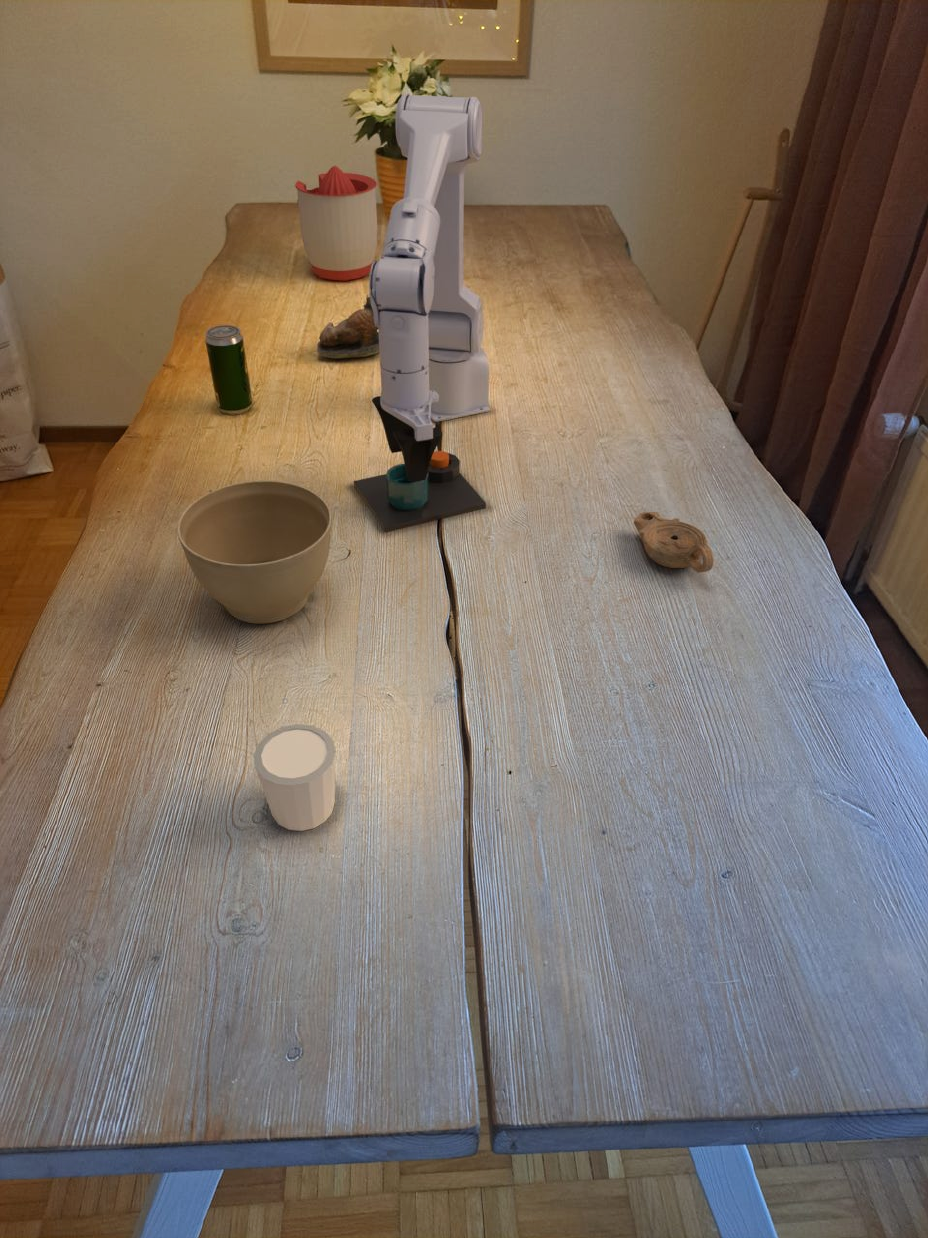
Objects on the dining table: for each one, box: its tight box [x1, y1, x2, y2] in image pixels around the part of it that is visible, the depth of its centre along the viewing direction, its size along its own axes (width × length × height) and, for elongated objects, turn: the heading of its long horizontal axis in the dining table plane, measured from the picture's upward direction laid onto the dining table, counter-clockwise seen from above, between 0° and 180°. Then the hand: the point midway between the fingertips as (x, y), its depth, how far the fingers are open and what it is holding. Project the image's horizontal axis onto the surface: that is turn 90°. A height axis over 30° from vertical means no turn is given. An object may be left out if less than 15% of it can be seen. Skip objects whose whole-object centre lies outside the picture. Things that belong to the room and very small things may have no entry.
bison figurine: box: [316, 294, 380, 359], centre depth 151 cm, size 12×7×10 cm, turn 98°
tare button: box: [430, 450, 449, 468], centre depth 122 cm, size 3×3×1 cm
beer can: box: [204, 324, 253, 416], centre depth 136 cm, size 5×5×12 cm
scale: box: [352, 451, 487, 533], centre depth 120 cm, size 14×12×2 cm
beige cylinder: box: [253, 723, 337, 832], centre depth 79 cm, size 7×7×7 cm
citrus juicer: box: [294, 165, 378, 282], centre depth 179 cm, size 16×17×20 cm
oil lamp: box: [633, 511, 714, 573], centre depth 109 cm, size 13×8×5 cm, turn 23°
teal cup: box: [385, 463, 429, 510], centre depth 117 cm, size 5×5×4 cm
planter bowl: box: [176, 479, 333, 624], centre depth 100 cm, size 16×16×11 cm
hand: (407, 465), depth 115 cm, fingers open, 7 cm apart
